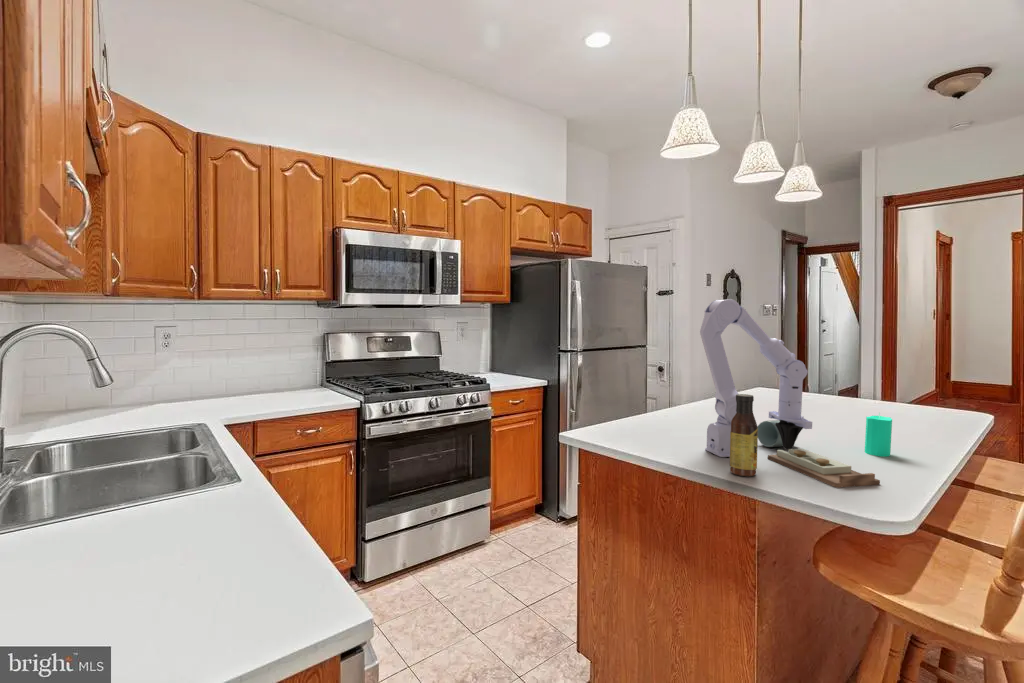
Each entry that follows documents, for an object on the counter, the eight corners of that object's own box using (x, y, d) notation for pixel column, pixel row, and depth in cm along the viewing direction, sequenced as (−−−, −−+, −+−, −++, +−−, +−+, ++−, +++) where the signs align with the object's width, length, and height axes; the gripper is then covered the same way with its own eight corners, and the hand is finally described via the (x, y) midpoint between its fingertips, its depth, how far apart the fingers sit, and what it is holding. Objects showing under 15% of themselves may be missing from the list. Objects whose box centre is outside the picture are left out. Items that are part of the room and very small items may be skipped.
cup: (795, 416, 153) (771, 416, 149) (806, 440, 150) (782, 442, 146) (775, 425, 159) (752, 426, 155) (785, 448, 156) (762, 450, 152)
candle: (881, 451, 148) (883, 410, 147) (895, 456, 142) (897, 414, 141) (860, 450, 148) (862, 410, 148) (872, 456, 142) (874, 414, 142)
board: (836, 487, 117) (837, 472, 117) (767, 458, 139) (768, 445, 139) (879, 484, 119) (880, 469, 119) (805, 456, 142) (805, 443, 141)
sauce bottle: (759, 478, 123) (762, 397, 122) (732, 476, 124) (735, 396, 123) (752, 470, 129) (755, 393, 128) (726, 468, 130) (729, 392, 129)
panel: (823, 474, 123) (823, 468, 123) (776, 455, 139) (777, 449, 139) (851, 472, 125) (851, 466, 124) (802, 454, 140) (802, 448, 140)
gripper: (822, 405, 136) (820, 454, 137) (783, 396, 150) (782, 441, 151) (800, 406, 135) (798, 456, 136) (763, 396, 149) (761, 442, 150)
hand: (788, 448), depth 143 cm, fingers closed
